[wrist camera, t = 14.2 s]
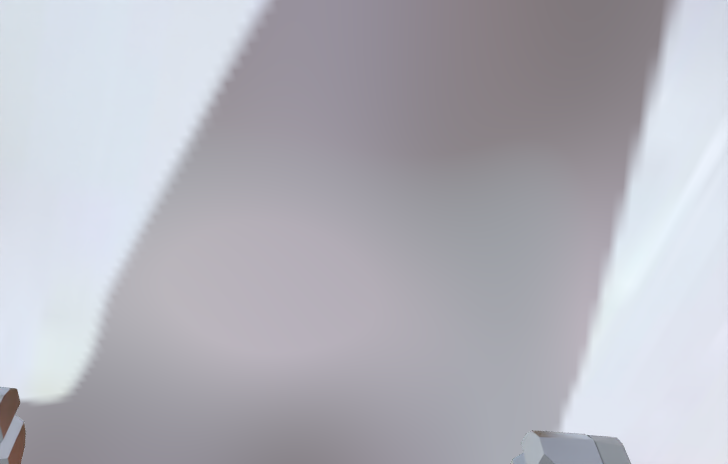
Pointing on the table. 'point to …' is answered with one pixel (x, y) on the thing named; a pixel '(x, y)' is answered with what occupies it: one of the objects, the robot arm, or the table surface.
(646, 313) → the table surface
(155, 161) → the table surface
